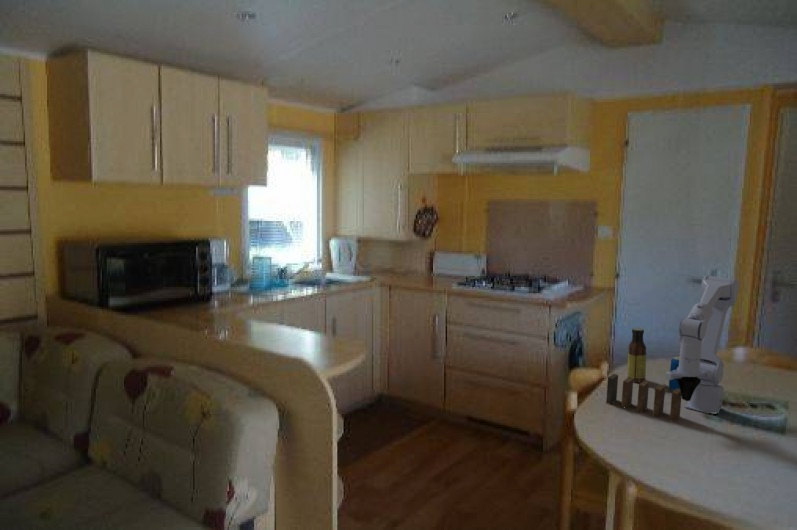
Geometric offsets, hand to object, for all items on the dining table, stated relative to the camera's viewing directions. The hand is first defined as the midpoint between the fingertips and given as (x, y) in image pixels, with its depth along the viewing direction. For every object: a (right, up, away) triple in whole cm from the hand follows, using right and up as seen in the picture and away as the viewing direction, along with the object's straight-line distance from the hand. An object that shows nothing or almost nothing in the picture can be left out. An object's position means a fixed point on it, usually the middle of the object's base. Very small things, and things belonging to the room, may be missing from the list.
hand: (686, 399), depth 174 cm
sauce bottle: (0, -2, +37) cm, 37 cm away
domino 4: (-6, -6, +6) cm, 10 cm away
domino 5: (-2, -7, +3) cm, 7 cm away
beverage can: (+11, -3, +27) cm, 29 cm away
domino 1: (-17, -4, +16) cm, 24 cm away
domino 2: (-13, -5, +13) cm, 19 cm away
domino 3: (-10, -6, +9) cm, 15 cm away
